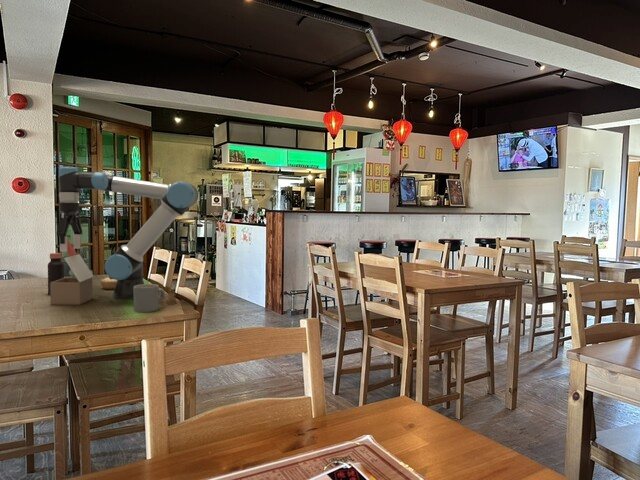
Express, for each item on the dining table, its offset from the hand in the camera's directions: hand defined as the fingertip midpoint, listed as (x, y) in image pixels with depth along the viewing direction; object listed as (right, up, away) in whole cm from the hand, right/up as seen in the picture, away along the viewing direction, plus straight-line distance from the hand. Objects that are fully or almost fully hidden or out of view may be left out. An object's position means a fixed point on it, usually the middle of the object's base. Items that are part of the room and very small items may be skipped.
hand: (70, 250), depth 201 cm
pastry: (+2, -21, +37) cm, 43 cm away
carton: (0, -23, +2) cm, 24 cm away
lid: (+1, -5, +1) cm, 5 cm away
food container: (-13, -21, +31) cm, 40 cm away
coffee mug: (+39, -25, -9) cm, 48 cm away
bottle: (-17, -22, +18) cm, 33 cm away
